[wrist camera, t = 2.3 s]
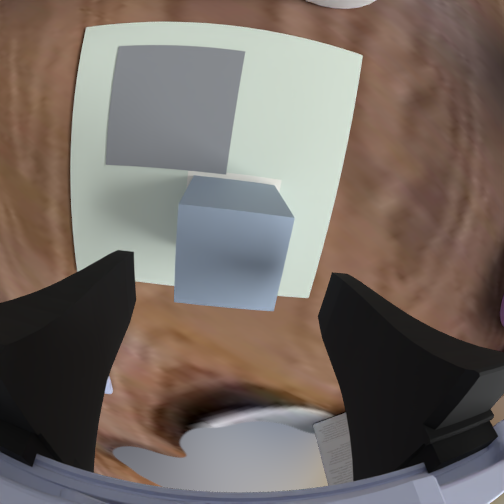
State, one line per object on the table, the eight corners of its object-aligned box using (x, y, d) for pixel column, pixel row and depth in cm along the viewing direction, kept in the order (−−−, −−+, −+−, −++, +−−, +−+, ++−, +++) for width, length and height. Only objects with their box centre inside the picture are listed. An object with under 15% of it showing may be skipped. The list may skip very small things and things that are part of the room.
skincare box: (319, 437, 30) (341, 522, 19) (311, 423, 28) (334, 518, 18) (368, 419, 30) (398, 502, 19) (364, 403, 28) (399, 496, 17)
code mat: (79, 270, 18) (77, 273, 18) (88, 28, 12) (85, 27, 11) (307, 295, 20) (308, 298, 20) (360, 56, 14) (363, 55, 13)
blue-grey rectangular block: (187, 248, 18) (173, 301, 13) (194, 175, 16) (178, 204, 11) (261, 256, 19) (273, 311, 14) (274, 185, 17) (294, 217, 12)
